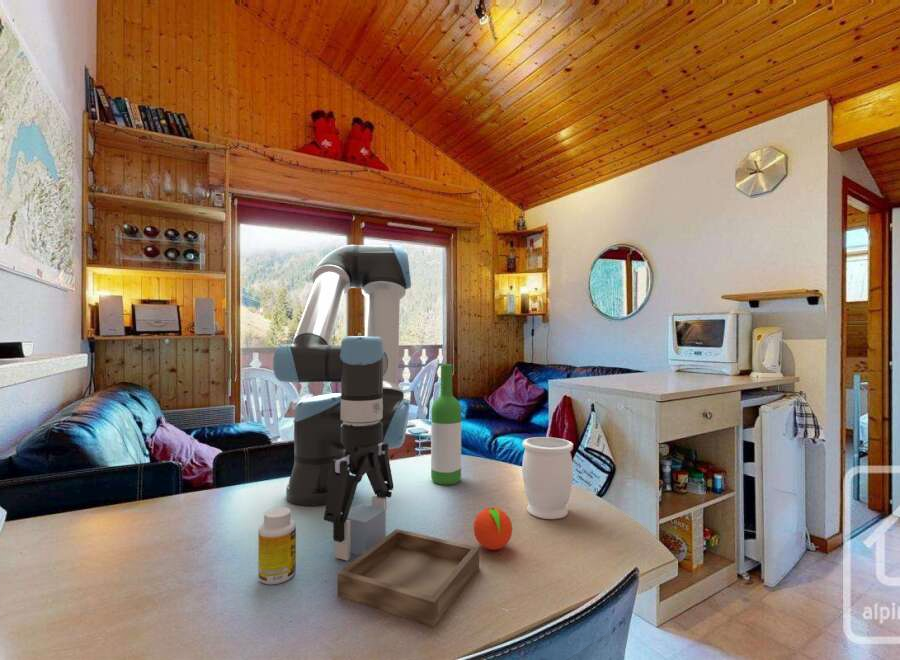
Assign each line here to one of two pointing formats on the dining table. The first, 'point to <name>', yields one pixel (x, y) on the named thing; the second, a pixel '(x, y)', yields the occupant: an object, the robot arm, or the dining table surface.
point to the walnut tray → (410, 575)
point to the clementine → (492, 528)
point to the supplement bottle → (277, 546)
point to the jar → (547, 476)
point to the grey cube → (365, 527)
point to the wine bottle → (446, 433)
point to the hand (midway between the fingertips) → (361, 543)
